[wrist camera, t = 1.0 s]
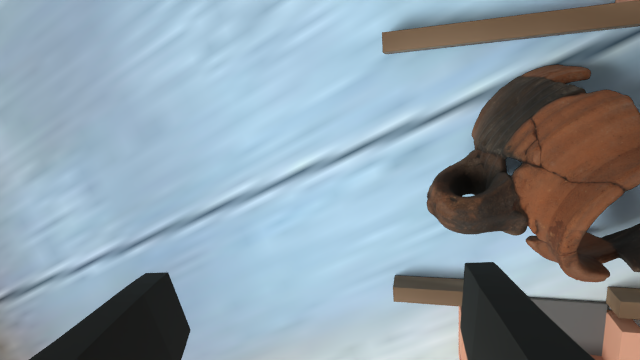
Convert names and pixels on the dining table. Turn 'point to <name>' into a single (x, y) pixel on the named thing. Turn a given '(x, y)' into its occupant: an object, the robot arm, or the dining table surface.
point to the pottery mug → (548, 170)
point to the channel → (496, 30)
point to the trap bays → (588, 326)
